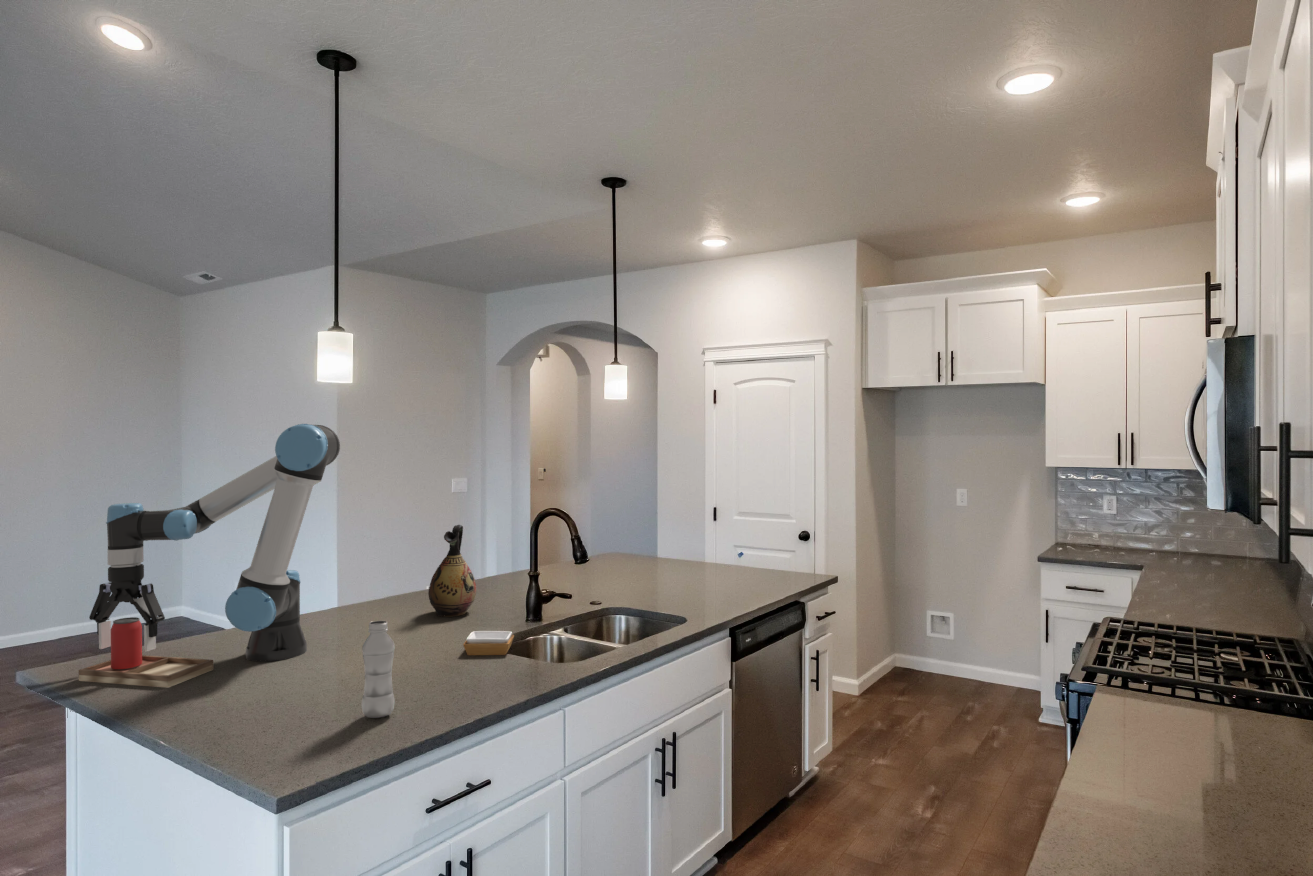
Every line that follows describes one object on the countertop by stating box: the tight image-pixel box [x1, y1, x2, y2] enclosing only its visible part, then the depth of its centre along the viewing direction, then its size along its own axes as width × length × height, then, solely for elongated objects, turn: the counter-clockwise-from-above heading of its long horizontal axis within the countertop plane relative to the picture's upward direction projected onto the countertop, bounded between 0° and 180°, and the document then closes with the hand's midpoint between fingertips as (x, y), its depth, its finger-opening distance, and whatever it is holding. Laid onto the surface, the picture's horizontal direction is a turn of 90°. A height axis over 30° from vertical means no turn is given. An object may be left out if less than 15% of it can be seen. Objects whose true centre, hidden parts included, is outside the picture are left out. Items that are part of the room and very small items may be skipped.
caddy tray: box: [78, 654, 214, 689], centre depth 194 cm, size 26×14×3 cm, turn 78°
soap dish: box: [463, 630, 515, 656], centre depth 214 cm, size 12×10×5 cm
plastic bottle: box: [361, 620, 396, 719], centre depth 165 cm, size 6×7×20 cm
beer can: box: [110, 616, 143, 670], centre depth 195 cm, size 7×7×12 cm
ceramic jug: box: [427, 524, 477, 618], centre depth 259 cm, size 17×15×30 cm
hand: (127, 649), depth 195 cm, fingers open, 13 cm apart
